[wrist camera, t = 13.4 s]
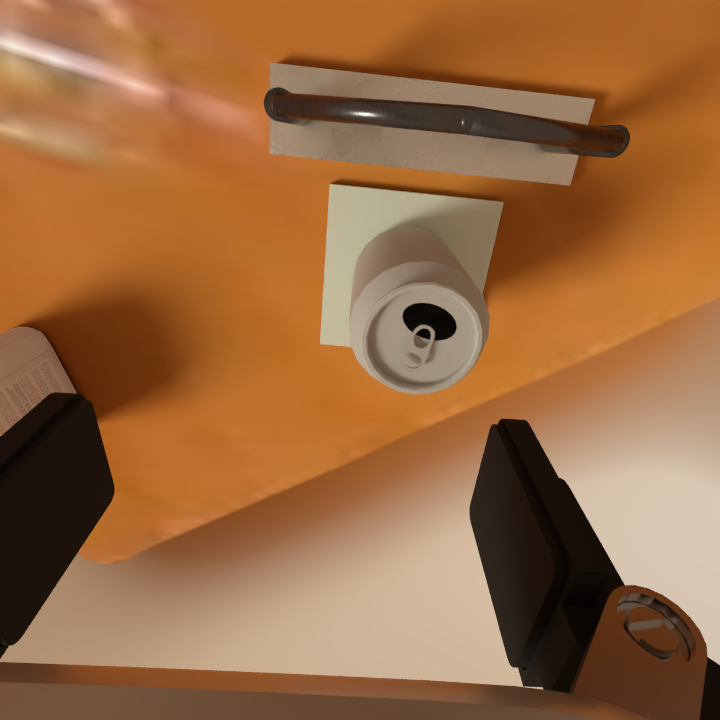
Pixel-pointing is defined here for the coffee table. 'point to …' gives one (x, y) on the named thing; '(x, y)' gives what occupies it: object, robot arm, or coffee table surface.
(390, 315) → the can
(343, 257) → the pad
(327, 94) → the plate with bar handle
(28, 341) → the photo printer
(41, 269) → the coffee table surface
